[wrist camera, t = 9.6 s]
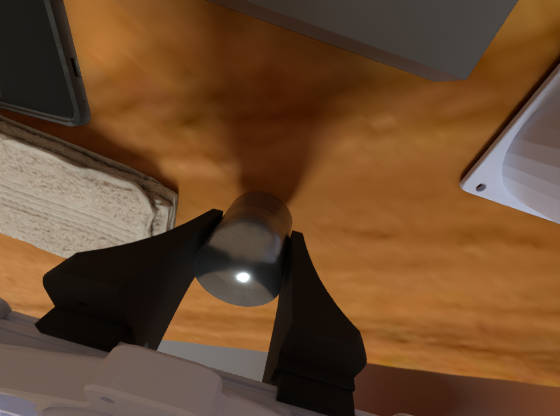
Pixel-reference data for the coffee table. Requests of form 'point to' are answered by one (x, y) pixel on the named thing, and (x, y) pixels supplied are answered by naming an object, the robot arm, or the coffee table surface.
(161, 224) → the washcloth
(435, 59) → the scale
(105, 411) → the robot arm
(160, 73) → the coffee table surface
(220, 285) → the cylinder
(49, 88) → the phone
